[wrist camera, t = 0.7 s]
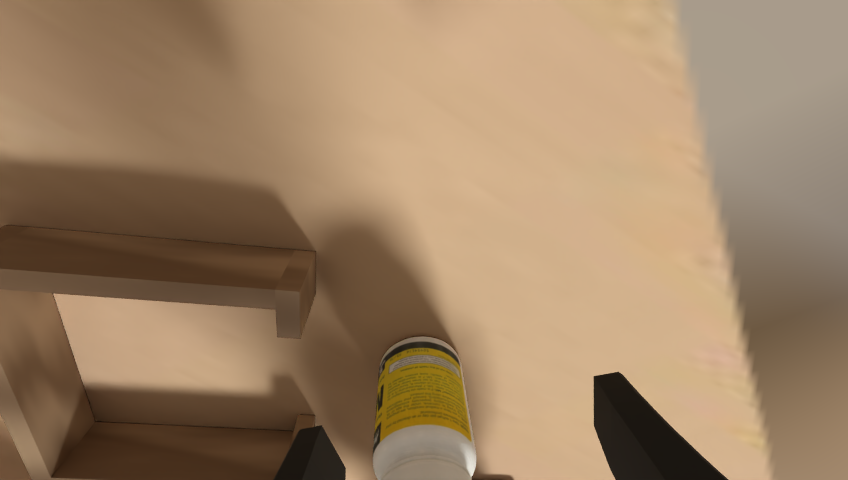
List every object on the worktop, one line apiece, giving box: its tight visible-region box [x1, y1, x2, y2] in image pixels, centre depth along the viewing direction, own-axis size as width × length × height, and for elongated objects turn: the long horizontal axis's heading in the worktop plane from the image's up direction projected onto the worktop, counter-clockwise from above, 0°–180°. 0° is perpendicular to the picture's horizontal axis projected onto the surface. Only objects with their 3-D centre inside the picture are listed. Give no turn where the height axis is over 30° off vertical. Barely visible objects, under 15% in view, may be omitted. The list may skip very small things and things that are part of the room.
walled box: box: [0, 225, 316, 480], centre depth 21 cm, size 14×14×4 cm
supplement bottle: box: [373, 336, 476, 480], centre depth 20 cm, size 5×5×8 cm
